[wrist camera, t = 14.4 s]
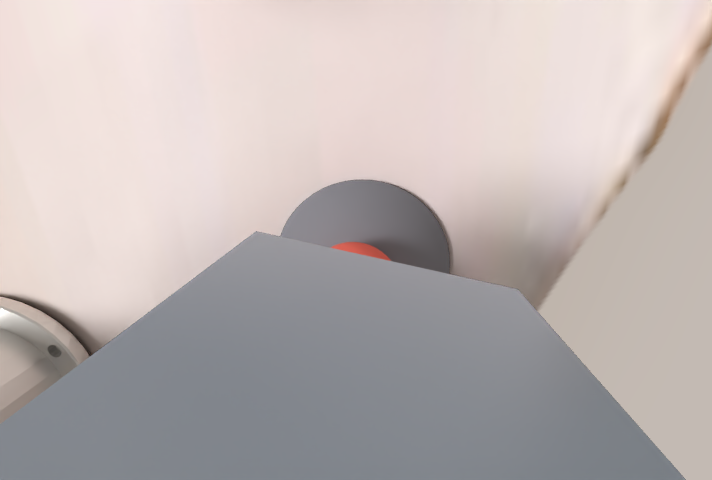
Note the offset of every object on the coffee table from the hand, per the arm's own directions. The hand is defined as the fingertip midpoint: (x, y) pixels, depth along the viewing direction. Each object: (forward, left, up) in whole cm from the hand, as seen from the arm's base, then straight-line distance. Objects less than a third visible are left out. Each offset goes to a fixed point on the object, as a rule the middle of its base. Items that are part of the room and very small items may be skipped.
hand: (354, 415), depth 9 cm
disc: (0, 0, -11) cm, 11 cm away
